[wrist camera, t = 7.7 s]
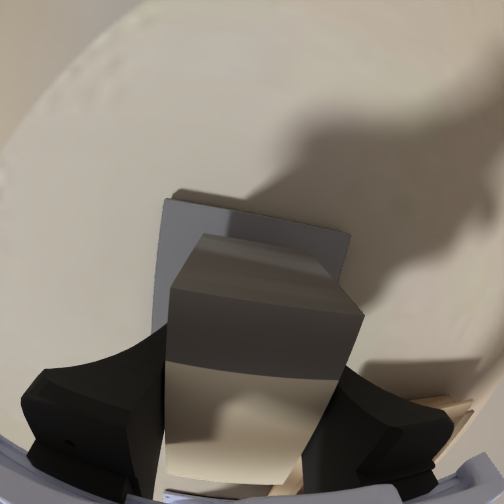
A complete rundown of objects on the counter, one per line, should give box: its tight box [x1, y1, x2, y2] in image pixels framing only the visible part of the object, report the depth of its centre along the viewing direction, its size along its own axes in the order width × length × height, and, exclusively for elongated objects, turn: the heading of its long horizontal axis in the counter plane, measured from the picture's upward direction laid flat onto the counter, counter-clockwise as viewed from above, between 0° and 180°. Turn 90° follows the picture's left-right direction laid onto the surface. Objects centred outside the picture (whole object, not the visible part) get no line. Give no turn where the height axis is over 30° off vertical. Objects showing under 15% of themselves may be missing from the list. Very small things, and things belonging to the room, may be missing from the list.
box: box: [165, 233, 365, 485], centre depth 10 cm, size 8×4×6 cm, turn 169°
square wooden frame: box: [268, 394, 474, 496], centre depth 18 cm, size 16×16×3 cm
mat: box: [151, 198, 351, 335], centre depth 14 cm, size 10×9×1 cm
